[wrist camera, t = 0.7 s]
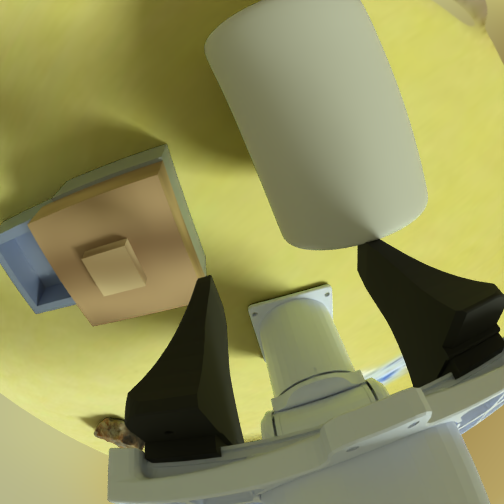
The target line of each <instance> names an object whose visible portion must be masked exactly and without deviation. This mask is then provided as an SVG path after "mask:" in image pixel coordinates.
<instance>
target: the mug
mask: <svg viewBox="0 0 504 504" xmlns="http://www.w3.org/2000/svg"><path fill="white" fill-rule="evenodd" d="M204 50H205V55H206V58H207V60H208V62H209V65H210V67H211V69H212V71H213V73H214V75H215V77H216V79H217V81H218V83H219V85H220V88H221V90H222V92H223V94H224V96H225V98H226V101H227V103H228V105H229V107H230V109H231V112H232V114H233V116H234V119H235V121H236V123H237V126H238V128H239V130H240V133H241V135H242V137H243V140H244V142H245V145H246V147H247V149H248V152H249V154H250V157H251V159H252V161H253V164H254V166H255V169H256V171H257V174H258V176H259V178H260V181H261V183H262V186H263V188H264V191H265V193H266V196H267V198H268V201H269V203H270V206H271V208H272V211H273V213H274V216H275V218H276V221H277V223H278V226H279V228H280V231H281V233H282V235H283V237H284V239H285V240H286V241H287V242H288V243H289V244H291V245H293V246H295V247H298V248H301V249H307V250H333V249H341V248H347V247H352V246H357V245H361V244H364V243H365V242H370V241H374V240H377V239H380V238H383V237H385V236H388V235H390V234H392V233H394V232H396V231H398V230H400V229H402V228H404V227H405V226H407V225H409V224H410V223H411V222H413V221H414V220H415V219H416V218H417V217H418V216H420V215H421V213H422V212H423V211H424V209H425V207H426V205H427V201H428V193H427V187H426V182H425V178H424V173H423V169H422V165H421V161H420V157H419V153H418V149H417V145H416V141H415V138H414V134H413V131H412V127H411V124H410V121H409V118H408V114H407V111H406V108H405V105H404V102H403V99H402V96H401V94H400V91H399V88H398V85H397V82H396V80H395V77H394V75H393V72H392V69H391V67H390V64H389V62H388V59H387V57H386V54H385V52H384V50H383V47H382V45H381V43H380V40H379V38H378V36H377V33H376V31H375V29H374V26H373V24H372V22H371V20H370V18H369V15H368V13H367V11H366V9H365V8H364V6H363V4H362V2H361V1H360V0H262V1H259V2H257V3H255V4H253V5H251V6H249V7H247V8H245V9H243V10H241V11H239V12H237V13H236V14H234V15H233V16H231V17H230V18H228V19H227V20H225V21H224V22H223V23H221V24H220V25H219V26H218V27H217V28H216V29H215V30H214V31H213V32H212V33H211V34H210V35H209V37H208V38H207V40H206V43H205V46H204Z"/></svg>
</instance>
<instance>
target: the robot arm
mask: <svg viewBox="0 0 504 504" xmlns="http://www.w3.org/2000/svg"><path fill="white" fill-rule="evenodd" d="M357 271H358V273H359V275H360V277H361V279H362V281H363V283H364V285H365V287H366V289H367V291H368V292H369V294H370V295H371V297H372V299H373V300H374V302H375V303H376V305H377V306H378V308H379V310H380V311H381V313H382V314H383V316H384V317H385V319H386V321H387V322H388V324H389V326H390V328H391V330H392V332H393V334H394V336H395V339H396V341H397V343H398V345H399V348H400V350H401V353H402V355H403V358H404V360H405V363H406V366H407V369H408V371H409V374H410V377H411V381H412V384H413V387H411V388H408V389H405V390H402V391H399V392H397V393H395V394H392V395H389V393H388V391H387V390H386V388H385V387H384V385H383V384H382V383H380V382H378V381H376V380H375V379H373V378H369V379H366V380H364V378H363V375H362V373H361V371H360V370H358V371H355V369H354V367H353V365H352V362H351V360H350V358H349V356H348V353H347V351H346V349H345V346H344V344H343V342H342V340H341V337H340V335H339V333H338V331H337V328H336V326H335V324H334V322H333V305H332V288H331V286H330V285H328V284H326V285H322V286H319V287H315V288H312V289H308V290H305V291H301V292H297V293H294V294H290V295H286V296H283V297H279V298H275V299H271V300H268V301H264V302H260V303H256V304H252V305H250V306H249V307H248V312H249V315H250V318H251V321H252V324H253V327H254V330H255V334H256V337H257V340H258V343H259V346H260V349H261V352H262V355H263V358H264V361H265V362H266V363H267V368H268V372H269V377H270V381H271V385H272V390H273V394H274V398H272V399H271V402H272V406H273V410H272V411H268V412H266V413H265V416H264V418H263V419H262V421H261V433H262V440H257V441H252V442H247V443H244V439H243V435H242V431H241V427H240V423H239V418H238V413H237V409H236V404H235V399H234V394H233V388H232V383H231V377H230V370H229V356H228V339H227V325H226V319H225V313H224V308H223V305H222V302H221V300H220V297H219V294H218V292H217V289H216V287H215V284H214V281H213V279H212V276H211V275H209V276H205V277H201V278H198V279H197V281H196V284H195V287H194V290H193V293H192V296H191V299H190V301H189V304H188V306H187V309H186V311H185V314H184V316H183V318H182V320H181V322H180V324H179V327H178V329H177V331H176V333H175V334H174V336H173V338H172V340H171V341H170V343H169V345H168V346H167V348H166V349H165V351H164V352H163V354H162V355H161V357H160V358H159V360H158V361H157V362H156V364H155V365H154V366H153V367H152V369H151V370H150V371H149V372H148V373H147V374H146V376H145V377H144V378H143V379H142V380H141V381H140V382H139V383H138V384H137V385H136V386H135V387H134V388H133V389H132V390H131V391H130V392H129V393H128V395H127V400H126V407H125V420H124V424H125V426H126V428H127V429H128V430H129V431H130V432H132V433H133V434H134V435H136V436H137V437H138V438H140V439H141V440H143V441H144V442H145V453H144V452H143V451H142V450H140V449H137V448H110V449H109V465H108V501H109V502H112V503H115V504H490V501H489V499H488V496H487V493H486V491H485V488H484V486H483V484H482V481H481V479H480V476H479V474H478V471H477V469H476V467H475V465H474V462H473V460H472V458H471V455H470V453H469V451H468V449H467V447H466V444H465V442H464V440H463V438H462V436H461V434H463V433H464V432H466V431H467V430H469V429H470V428H472V427H473V426H475V425H476V424H477V423H479V422H481V421H482V420H483V419H485V418H486V417H487V416H489V415H490V414H492V413H493V412H494V411H495V410H497V409H498V408H499V407H501V406H502V405H503V404H504V337H503V338H502V337H501V336H500V334H499V333H498V332H499V331H500V327H499V326H498V325H497V322H498V320H499V318H500V316H501V314H502V312H503V309H504V294H503V293H502V292H501V291H500V290H499V289H498V288H497V286H496V285H495V284H492V283H485V282H479V281H474V280H470V279H466V278H462V277H458V276H455V275H452V274H449V273H446V272H443V271H440V270H438V269H435V268H433V267H431V266H428V265H426V264H424V263H422V262H420V261H418V260H416V259H414V258H412V257H410V256H408V255H406V254H404V253H402V252H401V251H399V250H397V249H395V248H394V247H392V246H390V245H389V244H387V243H385V242H384V241H382V240H380V239H377V240H374V241H370V242H365V243H364V244H361V245H358V264H357ZM326 293H327V294H326ZM254 312H256V313H254Z"/></svg>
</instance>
